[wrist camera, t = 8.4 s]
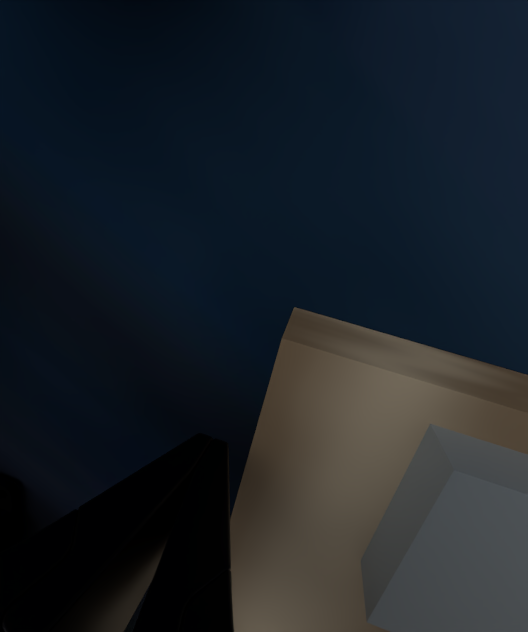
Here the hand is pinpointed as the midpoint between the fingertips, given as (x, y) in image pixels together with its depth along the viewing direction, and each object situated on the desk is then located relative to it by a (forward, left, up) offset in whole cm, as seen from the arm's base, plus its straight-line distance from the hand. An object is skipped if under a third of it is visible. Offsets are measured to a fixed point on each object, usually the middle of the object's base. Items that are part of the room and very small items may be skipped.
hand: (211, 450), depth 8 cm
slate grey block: (+7, 0, 0) cm, 8 cm away
